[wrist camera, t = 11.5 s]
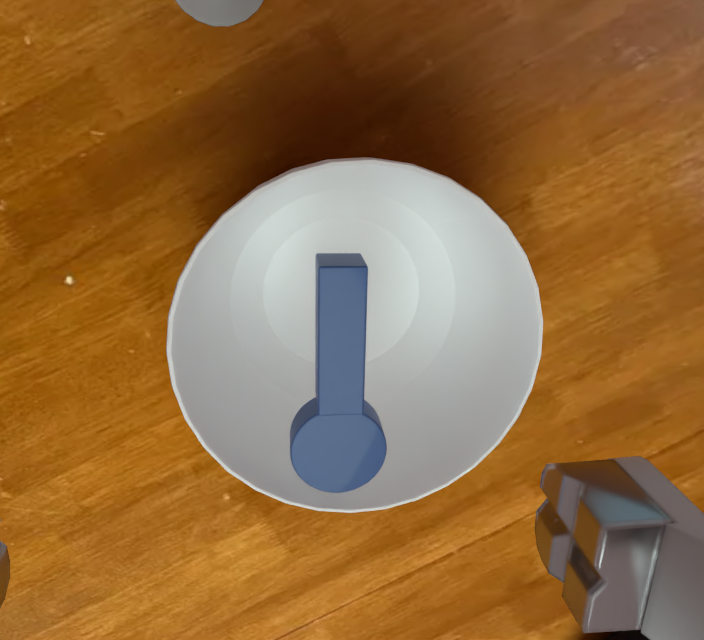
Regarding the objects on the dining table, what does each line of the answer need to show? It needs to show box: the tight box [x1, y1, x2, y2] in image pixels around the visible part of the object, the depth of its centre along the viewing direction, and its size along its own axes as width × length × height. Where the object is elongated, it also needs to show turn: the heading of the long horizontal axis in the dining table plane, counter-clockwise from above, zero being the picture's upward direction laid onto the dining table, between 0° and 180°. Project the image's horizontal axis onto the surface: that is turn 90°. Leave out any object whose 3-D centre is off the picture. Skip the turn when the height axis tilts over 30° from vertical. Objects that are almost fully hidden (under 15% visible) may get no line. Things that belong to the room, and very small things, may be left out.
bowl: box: [166, 157, 543, 513], centre depth 29 cm, size 16×16×10 cm
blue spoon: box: [290, 253, 387, 493], centre depth 24 cm, size 10×4×2 cm, turn 179°
